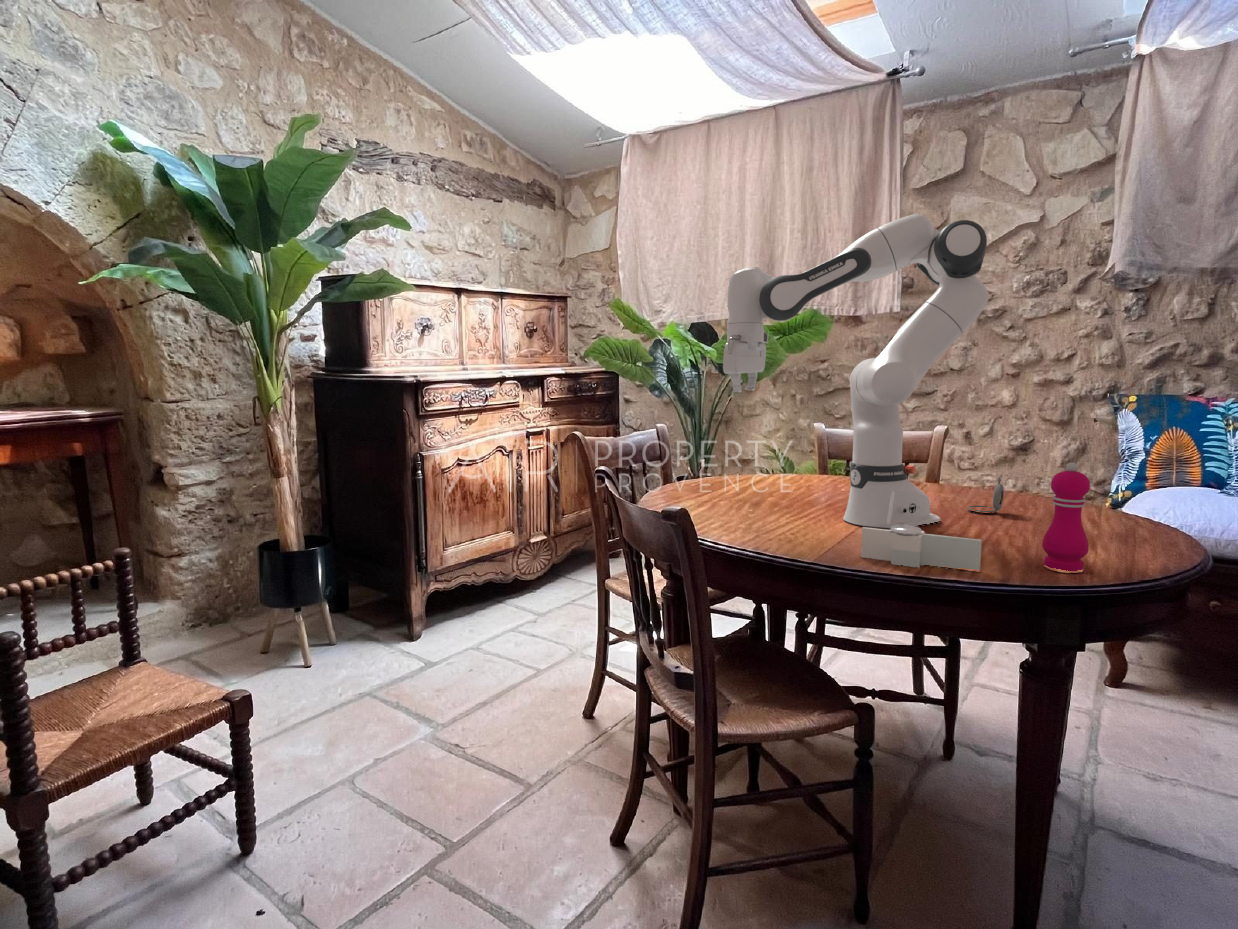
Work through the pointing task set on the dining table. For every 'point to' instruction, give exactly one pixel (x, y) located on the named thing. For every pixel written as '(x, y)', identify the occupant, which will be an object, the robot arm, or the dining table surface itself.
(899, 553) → the hinge
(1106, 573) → the dining table surface
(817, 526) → the dining table surface
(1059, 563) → the pepper mill
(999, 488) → the pocket watch
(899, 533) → the hinge pin
